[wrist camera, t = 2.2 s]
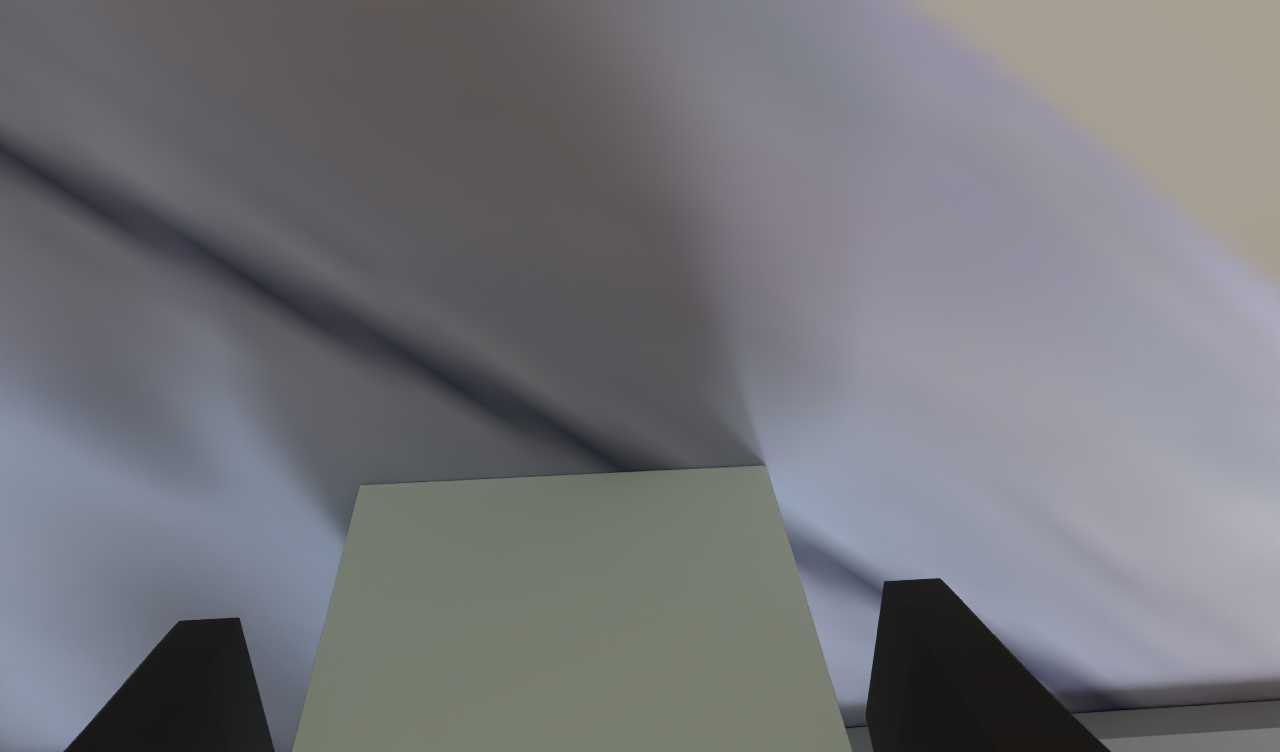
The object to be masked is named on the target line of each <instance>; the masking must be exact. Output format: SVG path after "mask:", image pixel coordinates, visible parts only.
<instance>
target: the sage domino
mask: <svg viewBox="0 0 1280 752" xmlns="http://www.w3.org/2000/svg"><path fill="white" fill-rule="evenodd" d="M292 752H852V749H851V746H850V742H849V739H848V736H847V732H846V729H845V726H844V722H843V719H842V716H841V712H840V709H839V706H838V702H837V699H836V696H835V692H834V689H833V686H832V682H831V679H830V676H829V673H828V669H827V666H826V663H825V659H824V656H823V653H822V649H821V646H820V643H819V639H818V636H817V633H816V629H815V626H814V623H813V619H812V616H811V613H810V609H809V606H808V603H807V599H806V596H805V593H804V590H803V586H802V583H801V580H800V576H799V573H798V570H797V566H796V563H795V560H794V556H793V553H792V550H791V546H790V543H789V540H788V536H787V533H786V530H785V526H784V523H783V520H782V516H781V513H780V510H779V507H778V503H777V500H776V497H775V493H774V490H773V487H772V483H771V480H770V477H769V473H768V470H767V467H766V465H762V466H741V467H721V468H700V469H680V470H659V471H639V472H618V473H598V474H578V475H557V476H537V477H516V478H496V479H475V480H455V481H434V482H414V483H394V484H373V485H360V487H359V491H358V494H357V498H356V502H355V506H354V510H353V514H352V518H351V522H350V526H349V530H348V534H347V537H346V541H345V545H344V549H343V553H342V557H341V561H340V565H339V569H338V573H337V577H336V580H335V584H334V588H333V592H332V596H331V600H330V604H329V608H328V612H327V616H326V620H325V624H324V627H323V631H322V635H321V639H320V643H319V647H318V651H317V655H316V659H315V663H314V667H313V670H312V674H311V678H310V682H309V686H308V690H307V694H306V698H305V702H304V706H303V710H302V714H301V717H300V721H299V725H298V729H297V733H296V737H295V741H294V745H293V749H292Z"/></svg>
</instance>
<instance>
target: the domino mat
mask: <svg viewBox="0 0 1280 752" xmlns="http://www.w3.org/2000/svg"><path fill="white" fill-rule="evenodd" d="M1073 715H1074V716H1075V717H1076V718H1077V719H1078V720H1079V721H1080V722H1081V723H1082V724H1083V725H1084V726H1085V727H1086V728H1087V729H1088V730H1089V731H1090V732H1091V733H1092V734H1093V735H1094V736H1095V737H1096V738H1097V739H1098V740H1099V741H1100V742H1102V743H1103V744H1104V745H1105V746H1106V747H1107V748H1108V749H1109V750H1110V751H1111V752H1280V700H1279V701H1263V702H1248V703H1232V704H1216V705H1201V706H1185V707H1170V708H1154V709H1138V710H1123V711H1107V712H1092V713H1076V714H1073ZM845 729H846V732H847V736H848V739H849V742H850V746H851V749H852V752H873V747H872V743H871V738H870V734H869V729H868V727H857V728H845Z"/></svg>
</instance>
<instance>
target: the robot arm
mask: <svg viewBox="0 0 1280 752" xmlns="http://www.w3.org/2000/svg"><path fill="white" fill-rule="evenodd" d="M865 716H866V721H867V725H868V729H869V734H870V738H871V743H872V747H873V752H1111V751H1110V750H1109V749H1108V748H1107V747H1106V746H1105V745H1104V744H1103V743H1102V742H1100V741H1099V740H1098V739H1097V738H1096V737H1095V736H1094V735H1093V734H1092V733H1091V732H1090V731H1089V730H1088V729H1087V728H1086V727H1085V726H1084V725H1083V724H1082V723H1081V722H1080V721H1079V720H1078V719H1077V718H1076V717H1075V716H1074V715H1073V714H1072V713H1071V712H1069V711H1068V710H1067V709H1066V708H1065V707H1064V706H1063V705H1062V704H1061V703H1060V702H1059V701H1058V700H1057V699H1056V698H1055V697H1054V696H1053V695H1052V694H1051V693H1050V692H1049V691H1048V690H1047V689H1046V688H1045V687H1044V686H1043V685H1042V684H1041V683H1040V682H1039V681H1038V680H1037V679H1036V678H1035V677H1034V676H1033V675H1032V674H1031V673H1030V672H1029V671H1028V670H1027V669H1026V668H1025V667H1024V666H1023V664H1022V663H1021V662H1020V661H1019V660H1018V659H1017V658H1016V657H1015V656H1014V655H1013V654H1012V653H1011V652H1010V651H1009V650H1008V649H1007V648H1006V647H1005V646H1004V645H1003V644H1002V643H1001V642H1000V640H999V639H998V638H997V637H996V636H995V635H994V634H993V633H992V632H991V631H990V630H989V629H988V628H987V627H986V626H985V625H984V624H983V622H982V621H981V620H980V619H979V618H978V617H977V616H976V615H975V614H974V613H973V612H972V611H971V610H970V609H969V608H968V606H967V605H966V604H965V603H964V602H963V601H962V600H961V599H960V598H959V597H958V596H957V595H956V594H955V593H954V592H953V591H952V590H951V589H950V587H949V586H948V585H946V584H945V583H944V582H943V581H942V580H941V579H940V578H936V579H918V580H900V581H884V587H883V594H882V601H881V608H880V615H879V622H878V630H877V637H876V644H875V651H874V658H873V665H872V672H871V680H870V687H869V694H868V701H867V708H866V715H865ZM64 752H274V748H273V744H272V740H271V736H270V733H269V729H268V725H267V721H266V717H265V714H264V710H263V706H262V702H261V698H260V695H259V691H258V687H257V683H256V679H255V676H254V672H253V668H252V664H251V660H250V657H249V653H248V649H247V645H246V641H245V638H244V634H243V630H242V626H241V622H240V619H239V618H222V619H204V620H186V621H179V622H178V623H177V624H176V625H175V626H174V627H173V628H172V629H171V630H170V631H169V632H168V634H167V635H166V636H165V637H164V638H163V639H162V640H161V641H160V643H159V644H158V645H157V646H156V647H155V648H154V649H153V650H152V652H151V653H150V654H149V655H148V656H147V657H146V659H145V660H144V661H143V662H142V663H141V664H140V665H139V667H138V668H137V669H136V670H135V671H134V672H133V674H132V675H131V676H130V677H129V678H128V679H127V681H126V682H125V683H124V684H123V685H122V686H121V687H120V689H119V690H118V691H117V692H116V693H115V694H114V696H113V697H112V698H111V699H110V700H109V701H108V702H107V704H106V705H105V706H104V707H103V708H102V709H101V710H100V711H99V713H98V714H97V715H96V716H95V717H94V718H93V719H92V721H91V722H90V723H89V724H88V725H87V726H86V727H85V729H84V730H83V731H82V732H81V733H80V734H79V735H78V736H77V737H76V739H75V740H74V741H73V742H72V743H71V744H70V745H69V746H68V747H67V748H66V750H65V751H64Z"/></svg>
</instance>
